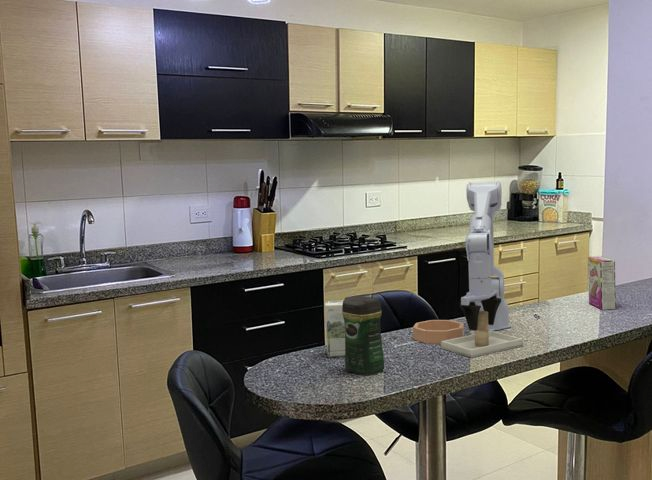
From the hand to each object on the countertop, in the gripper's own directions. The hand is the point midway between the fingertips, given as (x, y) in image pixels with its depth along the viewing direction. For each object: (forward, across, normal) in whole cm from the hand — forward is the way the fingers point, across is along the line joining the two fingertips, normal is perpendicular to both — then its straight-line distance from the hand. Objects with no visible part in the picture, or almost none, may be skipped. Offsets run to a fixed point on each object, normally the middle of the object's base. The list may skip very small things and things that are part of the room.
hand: (481, 327), depth 174 cm
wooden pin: (+5, 0, 0) cm, 5 cm away
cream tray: (+6, 0, 0) cm, 6 cm away
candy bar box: (+6, -65, +2) cm, 66 cm away
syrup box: (+6, +29, -26) cm, 39 cm away
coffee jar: (+6, +35, -10) cm, 36 cm away
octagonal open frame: (+6, -2, -16) cm, 17 cm away
